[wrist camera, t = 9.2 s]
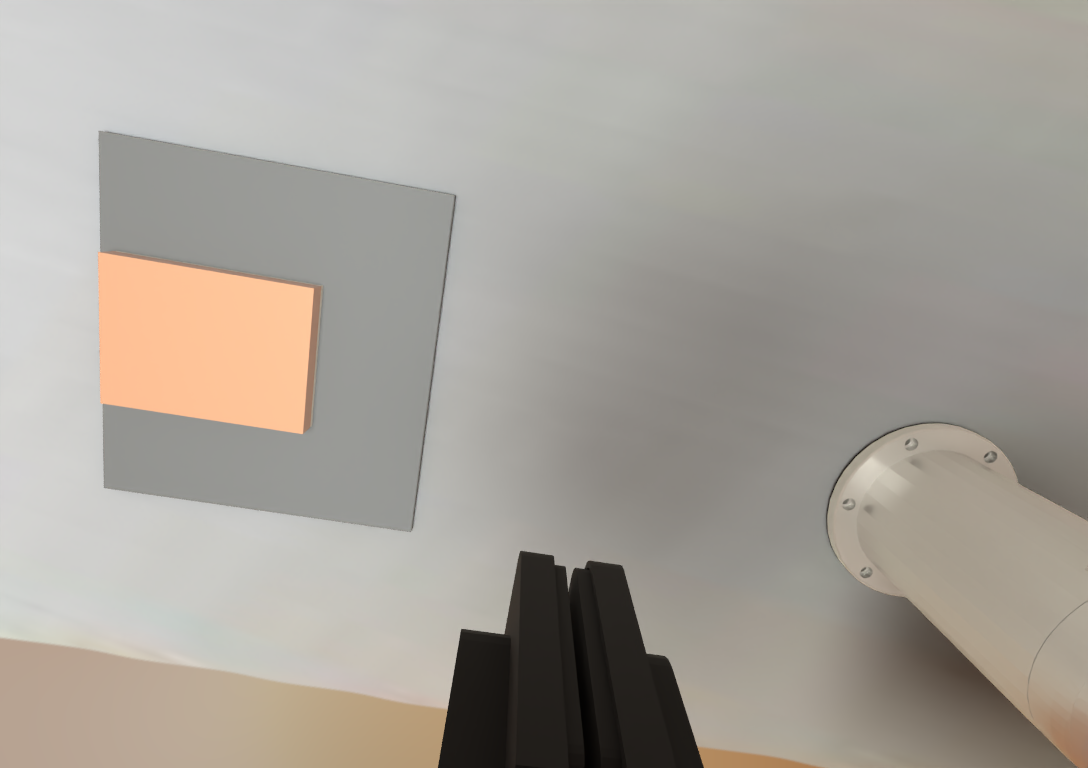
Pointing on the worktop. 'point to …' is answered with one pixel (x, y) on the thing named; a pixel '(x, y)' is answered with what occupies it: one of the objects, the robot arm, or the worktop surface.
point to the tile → (207, 342)
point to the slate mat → (344, 338)
